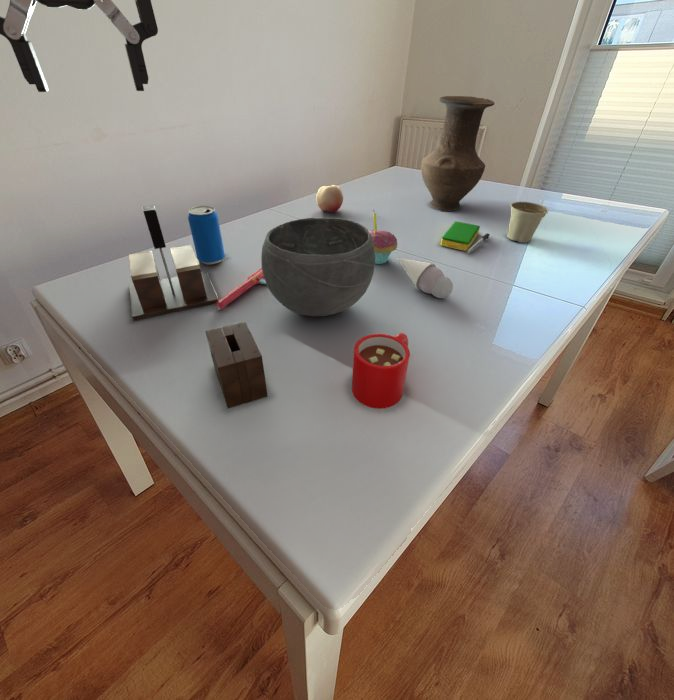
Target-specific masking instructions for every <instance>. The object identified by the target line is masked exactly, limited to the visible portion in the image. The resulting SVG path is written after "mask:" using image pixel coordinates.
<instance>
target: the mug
mask: <svg viewBox="0 0 674 700" xmlns="http://www.w3.org/2000/svg"><path fill="white" fill-rule="evenodd" d="M410 356H411V353H410V348H409V337H408V335H407V334H405V333H404V332H400V333H397V334H395V335H394V336H393V335H390V334H385V333H372V334H368V335H365V336H362V337H361V338H360V339H358V340H357V341H356V343H355V344H354V347H353V360H352V361H353V362H352V375H351V376H352V377H351V393H352V395H353V397H354V399H355V400H356V401H357V402H358V403H360V404H361V405H363V406H365V407H368V408H372V409H379V410H381V409H382V410H383V409H387V408H391V407H393V406H395V405H397V404H399V402H400V401H401V399H402V398H403V395H404V388H405V384H406V377H407V372H408V368H409V362H410Z"/></svg>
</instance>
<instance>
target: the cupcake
mask: <svg viewBox="0 0 674 700" xmlns="http://www.w3.org/2000/svg"><path fill="white" fill-rule="evenodd" d="M372 211H373V213H372V220H373V229H372V230H370V231H369V233H370V235H371V237H372V241H373V245H374V246H373V247H374V250H375V265H382V264H385V263H387V262H388V260H389V257H390V255H391V253H392V252H394V251H396V250H397V248H398V239H397V236H395V234H394V233H391V232H390V231H387V230H384V229H378V224H377V213H376V212H375V209H372Z"/></svg>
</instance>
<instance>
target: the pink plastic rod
mask: <svg viewBox="0 0 674 700" xmlns="http://www.w3.org/2000/svg"><path fill="white" fill-rule="evenodd" d="M259 284H261V285H262V284H263V285H266V286H267V284H266V281H265V278H264V275H263V271H262V267H260V268H259V269H258V270H257V271H256V272H253V274H251V275H250V276H248V277H247V279H246V280H245V281H244V282H242V283H241V284H239V285H238V286H237V287H235V288H234V289H232V290H231V291H230V292H228V293H227V294H225V295H224V296H222V297H221V298H220V299H219V301H217V304H216V306H217V307H218V308H217V310H218V311H220V310H222V309H224V308H226V307H227V306H228V305H229V304H230V303H232V302H233V301H235V300H236V299H237V298H238V297H240V296H241V295H243V294H244V293H245V292H246V291H248V290H249V289H251V288H252V287H253V286H254V285H259Z"/></svg>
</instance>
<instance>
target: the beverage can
mask: <svg viewBox="0 0 674 700" xmlns="http://www.w3.org/2000/svg"><path fill="white" fill-rule="evenodd" d="M187 219H188V224H189V229H190V232H191V237H192V241H193V246H194V251H195V255H196V257H197V260H198V262H199V263H203V264H205V265H215V264H219V263H220V262H222V261H223V260H224V258H226V253H225V252H226V251H225V246H224V242H223V236H222V231H221V225H220V220H219V215H218V212H217V211H216V209H215V207H213V206H210V205H196V206H192V207H191V208H189V209H188V214H187Z"/></svg>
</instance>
